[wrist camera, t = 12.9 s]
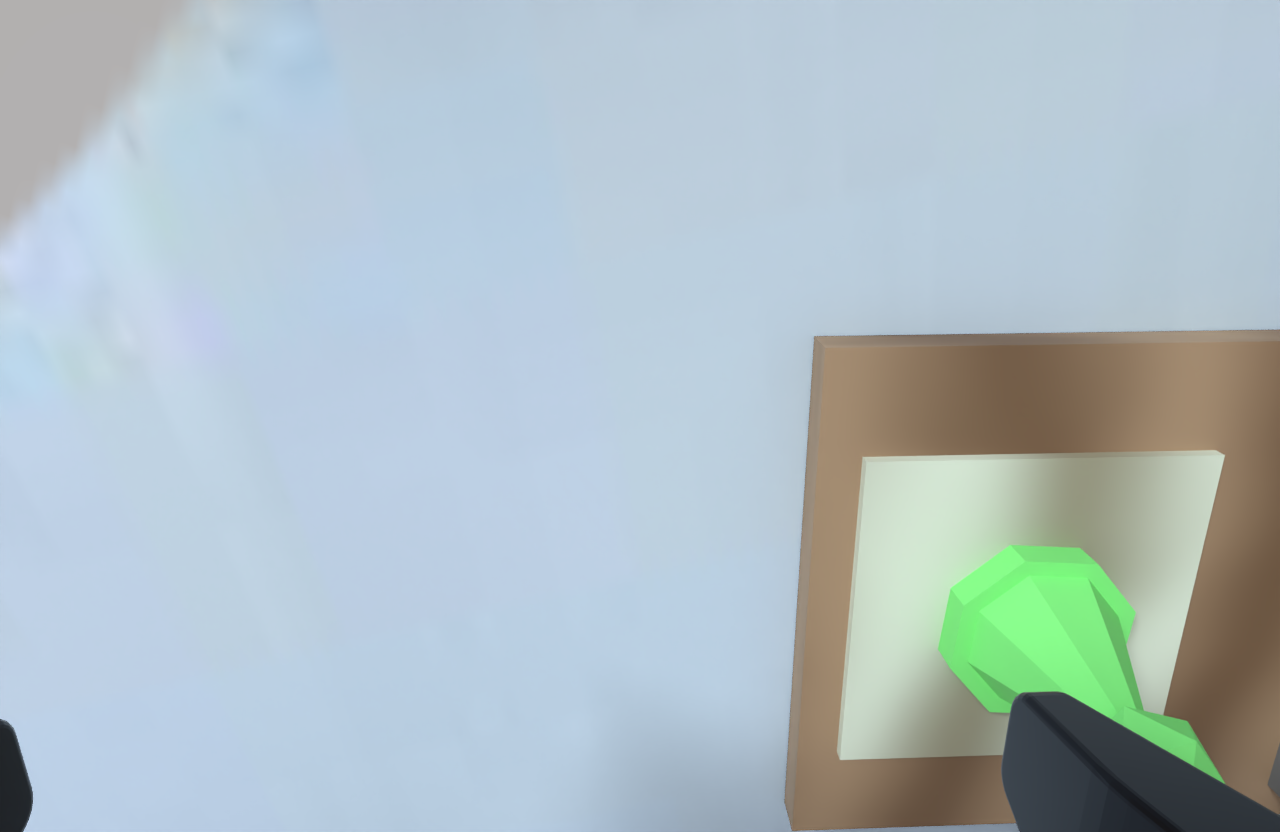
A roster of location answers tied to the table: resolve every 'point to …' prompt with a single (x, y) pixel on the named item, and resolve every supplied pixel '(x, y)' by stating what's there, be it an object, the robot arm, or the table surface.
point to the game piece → (1054, 641)
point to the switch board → (1029, 516)
